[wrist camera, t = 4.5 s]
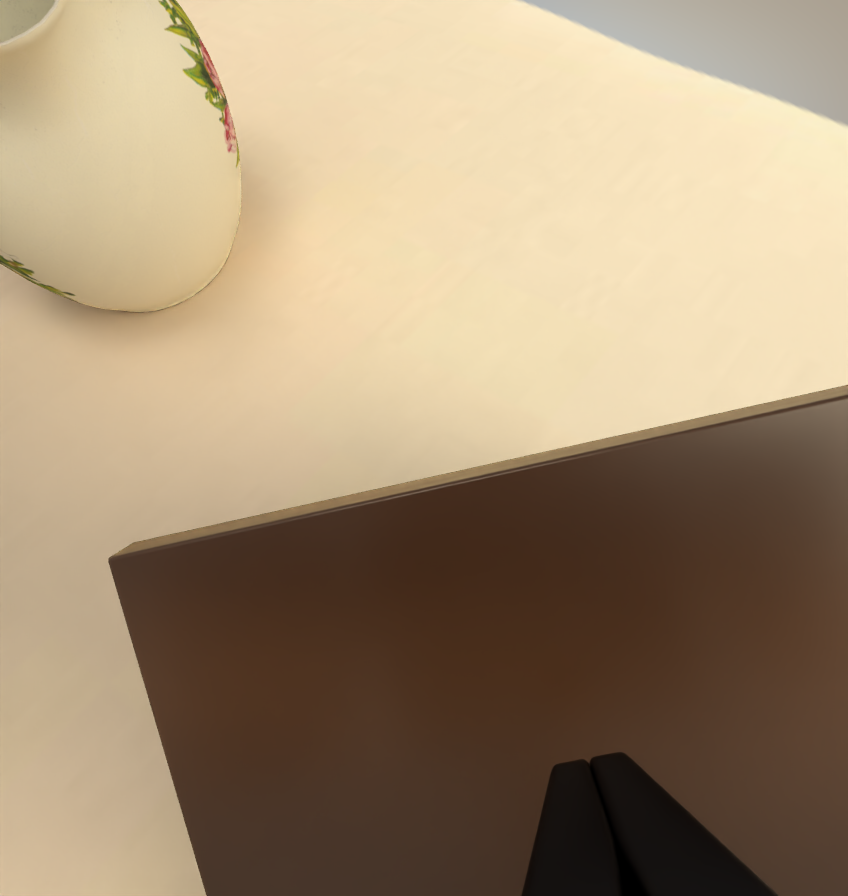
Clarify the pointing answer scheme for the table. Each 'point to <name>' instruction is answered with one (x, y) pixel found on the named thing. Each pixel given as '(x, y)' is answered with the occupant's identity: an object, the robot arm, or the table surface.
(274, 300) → the table surface
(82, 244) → the pitcher
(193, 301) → the table surface
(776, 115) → the table surface
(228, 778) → the lid
